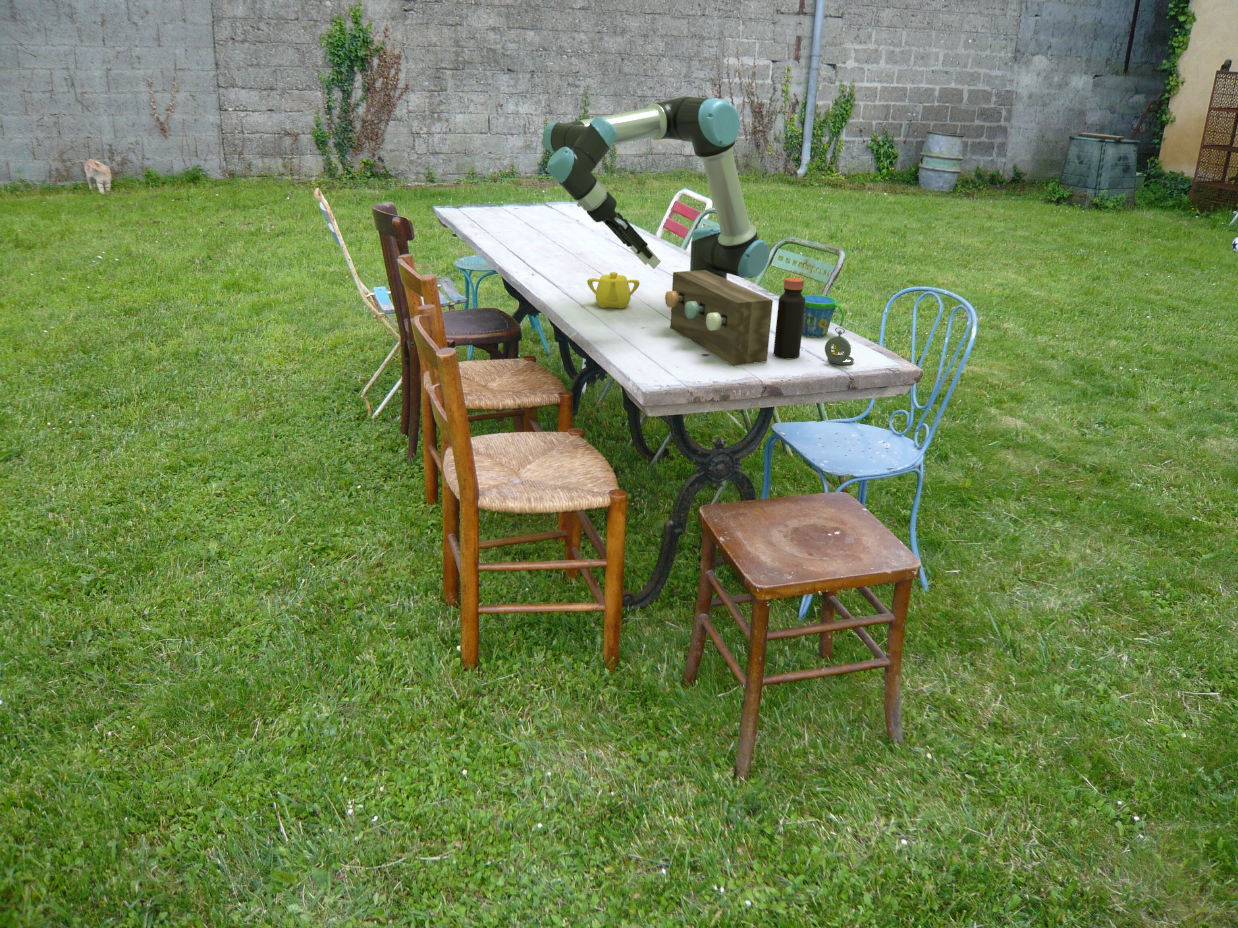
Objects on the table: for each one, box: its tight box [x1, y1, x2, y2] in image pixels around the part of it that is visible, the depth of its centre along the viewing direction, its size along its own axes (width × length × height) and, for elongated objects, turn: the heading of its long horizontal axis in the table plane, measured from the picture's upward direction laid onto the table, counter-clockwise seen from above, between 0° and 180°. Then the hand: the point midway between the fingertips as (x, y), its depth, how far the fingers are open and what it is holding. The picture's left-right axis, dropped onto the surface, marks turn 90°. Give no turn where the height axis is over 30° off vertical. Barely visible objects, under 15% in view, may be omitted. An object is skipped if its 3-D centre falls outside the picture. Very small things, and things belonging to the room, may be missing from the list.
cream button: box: [706, 312, 727, 331], centre depth 232 cm, size 6×4×4 cm
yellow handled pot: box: [586, 271, 640, 310], centre depth 281 cm, size 14×13×10 cm
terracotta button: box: [664, 290, 684, 308], centre depth 252 cm, size 6×4×4 cm
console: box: [669, 270, 774, 366], centre depth 245 cm, size 10×36×16 cm, turn 23°
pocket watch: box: [824, 326, 855, 365], centre depth 234 cm, size 8×8×10 cm
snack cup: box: [802, 294, 845, 338], centre depth 258 cm, size 16×10×10 cm
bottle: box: [773, 276, 805, 359], centre depth 237 cm, size 7×7×20 cm
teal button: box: [685, 301, 705, 319], centre depth 242 cm, size 6×4×4 cm
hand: (652, 263), depth 245 cm, fingers open, 4 cm apart
